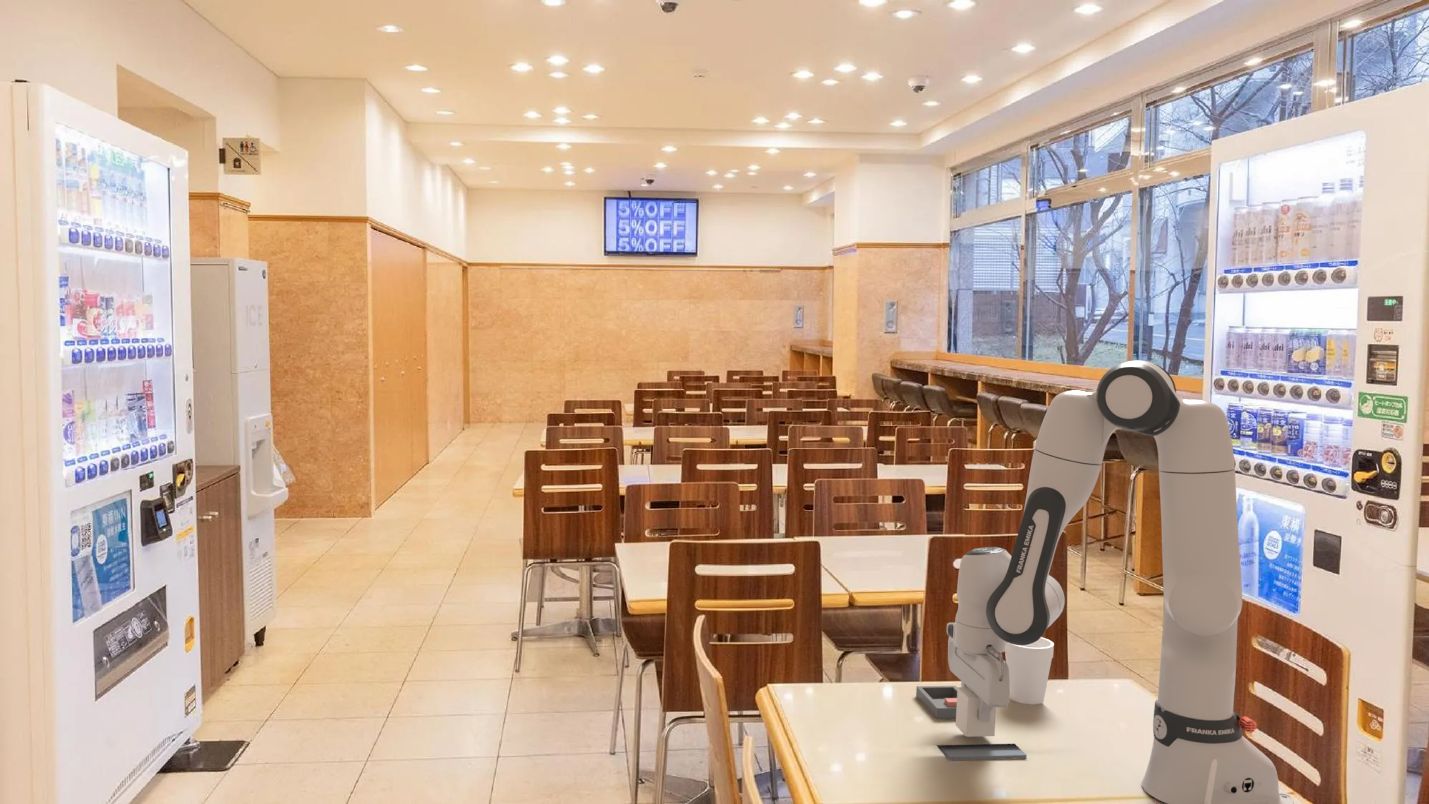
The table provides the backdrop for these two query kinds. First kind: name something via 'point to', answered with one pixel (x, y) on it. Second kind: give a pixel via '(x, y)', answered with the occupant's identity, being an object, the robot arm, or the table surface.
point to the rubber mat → (981, 751)
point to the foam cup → (1029, 670)
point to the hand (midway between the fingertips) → (976, 713)
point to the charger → (972, 715)
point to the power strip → (939, 700)
